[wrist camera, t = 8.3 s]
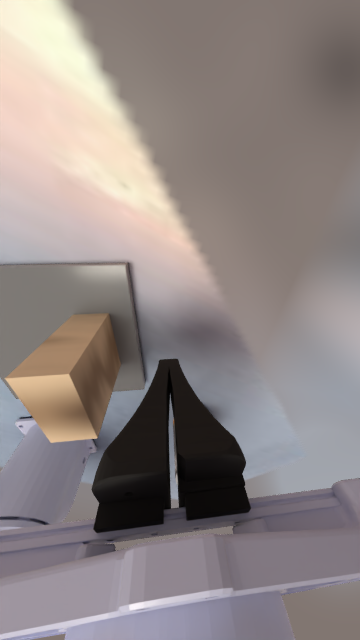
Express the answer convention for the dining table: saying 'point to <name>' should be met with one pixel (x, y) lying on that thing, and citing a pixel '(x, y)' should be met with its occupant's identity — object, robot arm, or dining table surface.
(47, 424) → the block
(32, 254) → the dining table surface
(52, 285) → the board
